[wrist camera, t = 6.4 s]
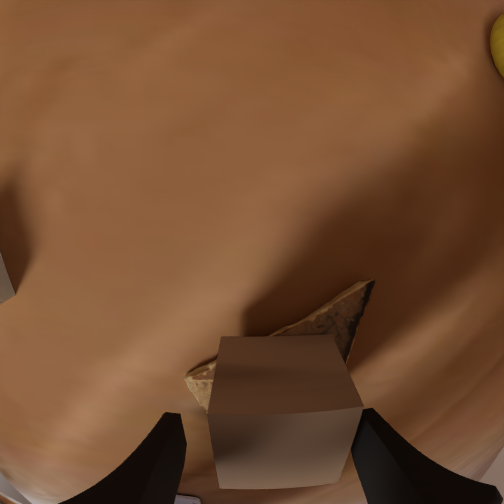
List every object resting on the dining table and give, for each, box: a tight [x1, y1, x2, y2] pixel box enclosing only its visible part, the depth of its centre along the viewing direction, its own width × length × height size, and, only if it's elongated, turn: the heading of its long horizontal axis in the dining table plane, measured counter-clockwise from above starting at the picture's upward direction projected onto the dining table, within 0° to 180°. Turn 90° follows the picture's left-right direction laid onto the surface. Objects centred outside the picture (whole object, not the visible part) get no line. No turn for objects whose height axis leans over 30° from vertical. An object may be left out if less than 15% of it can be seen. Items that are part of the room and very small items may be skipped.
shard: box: [184, 279, 375, 412], centre depth 15 cm, size 11×8×2 cm
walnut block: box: [207, 334, 364, 489], centre depth 11 cm, size 5×5×5 cm
